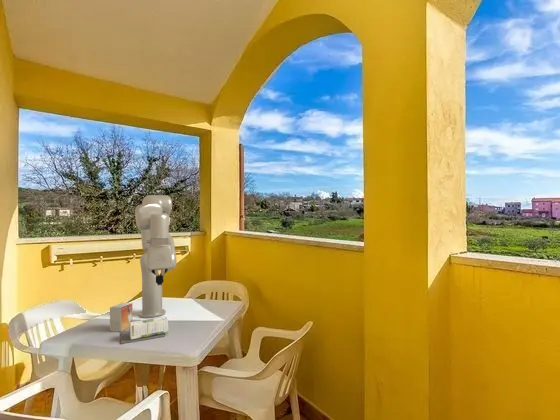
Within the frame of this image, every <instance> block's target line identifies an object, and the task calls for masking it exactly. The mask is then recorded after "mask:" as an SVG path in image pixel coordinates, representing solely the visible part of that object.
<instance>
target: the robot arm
mask: <svg viewBox="0 0 560 420" xmlns="http://www.w3.org/2000/svg"><path fill="white" fill-rule="evenodd" d="M172 208H173V200H172V199H171V197H170V196H169V195H166V194H165V195H161V194H149V195H146V196H145V197H143V198H142V201H141V204H139V205H137V206H136V207H135V210H134V215H135V223H136V226H137V228H138V230H140V237H141V239H140V240H141V247H142V250H143V252H144V253H143V254H142V255H141V256H140V258H139V264H140V265H139V266H140V270H141V289H142V290H141V295H142V296H141V298H142V299H141V302H142V303H141V309H142V310H141V311H140V312H139V313H138V316H139V317H140V318H144V319H153V318H159V317H162V316H164V315H166V310H165V309H163V283H164V276H165V275H166V273H167V272H170V271H172V270H173V269H175V268H176V266H177V253H176V247H175V246H176V245H175V241H174V238H173V235H171V234H169V226H170V225H171V216H170V214H171V211H172ZM159 271H160V273H159Z"/></svg>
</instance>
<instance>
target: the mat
mask: <svg viewBox="0 0 560 420" xmlns="http://www.w3.org/2000/svg"><path fill="white" fill-rule="evenodd" d="M120 333H121V336H120V340H121V341H120V344H121V345H123V344H124V343H125V344H128V343H129V344H130V343H135V342H136V343H137V342H141V341H148V340H152V339H153V340H155V339H159V338H165V333H163V334H158V335H153V336H148V337H142V338H137V339H131V338H130V335H129V330H123V331H121V332H120Z"/></svg>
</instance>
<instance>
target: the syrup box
mask: <svg viewBox="0 0 560 420" xmlns="http://www.w3.org/2000/svg"><path fill="white" fill-rule="evenodd" d="M168 320H169V319H168V318H167V317H166V316H158V317H153V318H146V319H142V320H137V321H132V322H130V323H129V328H128V331H129V335H130V338H131V339H137V338H142V337H148V336H153V335H158V334H163V333H164V334H168V333H169V321H168Z"/></svg>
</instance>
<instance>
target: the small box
mask: <svg viewBox="0 0 560 420" xmlns="http://www.w3.org/2000/svg"><path fill="white" fill-rule="evenodd" d="M130 322H133V303H132V302H121V303H119V304H116V305H113V306H110V307H109V331H110V332H120V333H121V332H122V331H126V330H127V329H129V323H130Z"/></svg>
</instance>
